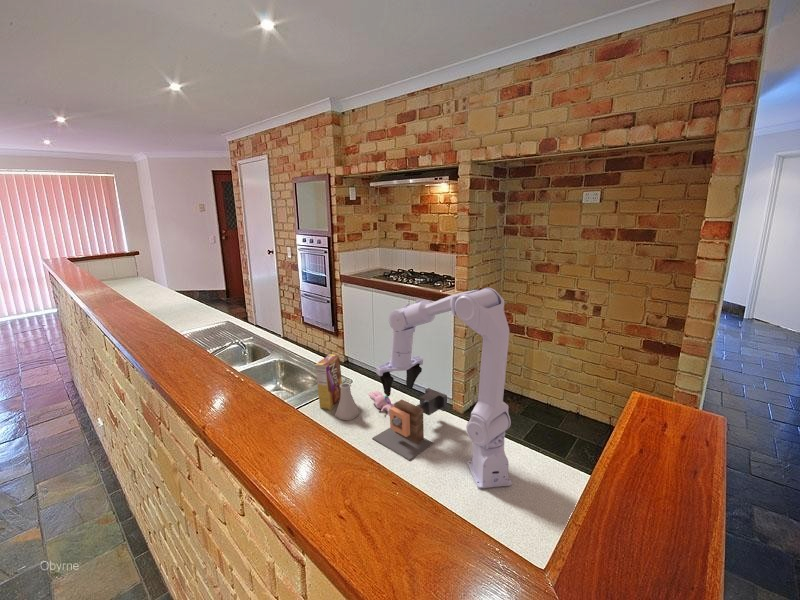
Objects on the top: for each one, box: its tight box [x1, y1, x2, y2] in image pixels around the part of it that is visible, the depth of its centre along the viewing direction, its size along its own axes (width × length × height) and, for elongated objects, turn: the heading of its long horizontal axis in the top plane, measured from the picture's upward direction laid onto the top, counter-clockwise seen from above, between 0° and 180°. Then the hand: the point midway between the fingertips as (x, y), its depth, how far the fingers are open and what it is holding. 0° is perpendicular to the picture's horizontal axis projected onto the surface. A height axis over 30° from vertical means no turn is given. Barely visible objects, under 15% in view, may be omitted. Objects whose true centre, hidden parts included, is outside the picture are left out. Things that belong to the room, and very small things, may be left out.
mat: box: [371, 427, 434, 461], centre depth 107 cm, size 10×14×1 cm
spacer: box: [389, 407, 410, 437], centre depth 104 cm, size 2×6×6 cm, turn 46°
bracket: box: [393, 399, 425, 444], centre depth 107 cm, size 3×8×9 cm, turn 46°
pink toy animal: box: [368, 390, 394, 417], centre depth 123 cm, size 6×6×15 cm
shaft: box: [392, 387, 448, 426], centre depth 109 cm, size 18×7×4 cm, turn 135°
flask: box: [334, 382, 360, 421], centre depth 120 cm, size 7×7×10 cm
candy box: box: [315, 354, 343, 410], centre depth 127 cm, size 9×4×15 cm, turn 160°
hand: (398, 390), depth 113 cm, fingers open, 7 cm apart
